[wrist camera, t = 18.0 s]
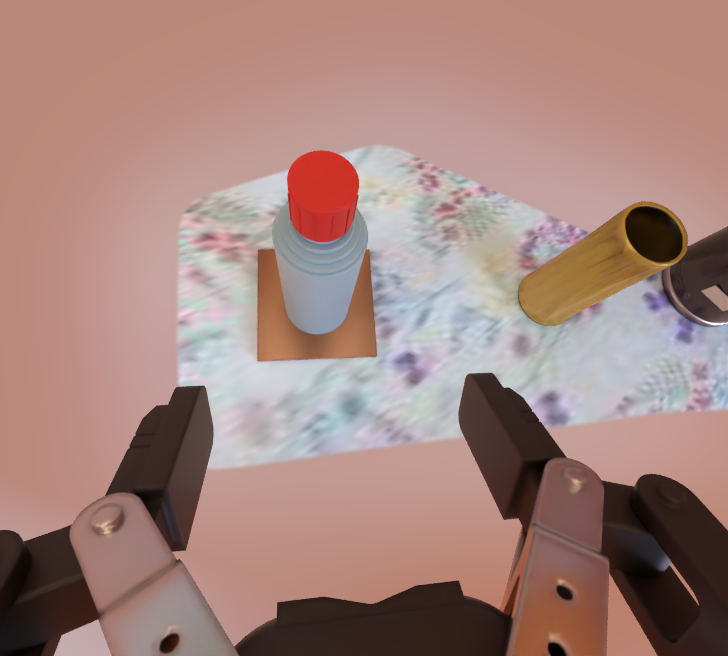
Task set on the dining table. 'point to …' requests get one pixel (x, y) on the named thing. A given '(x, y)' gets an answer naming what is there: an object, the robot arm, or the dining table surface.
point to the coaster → (294, 344)
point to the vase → (604, 263)
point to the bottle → (318, 273)
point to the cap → (322, 195)
